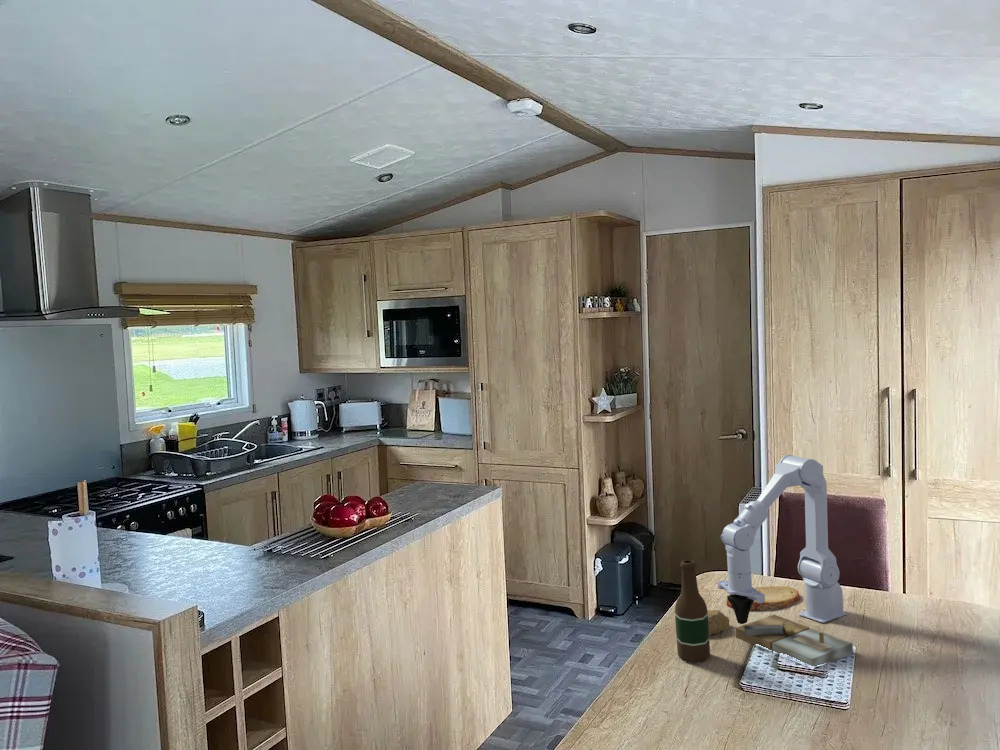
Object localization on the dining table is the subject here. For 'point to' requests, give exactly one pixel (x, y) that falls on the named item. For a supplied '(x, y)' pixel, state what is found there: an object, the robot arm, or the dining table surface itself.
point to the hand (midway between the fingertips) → (742, 622)
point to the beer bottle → (691, 618)
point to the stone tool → (717, 621)
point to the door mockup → (799, 642)
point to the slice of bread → (774, 598)
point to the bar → (771, 629)
